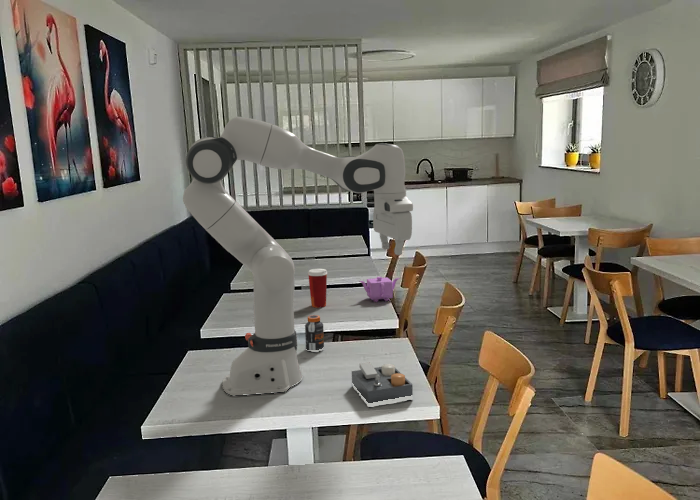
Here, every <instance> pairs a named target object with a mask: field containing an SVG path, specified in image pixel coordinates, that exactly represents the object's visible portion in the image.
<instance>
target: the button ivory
mask: <svg viewBox="0 0 700 500" xmlns="http://www.w3.org/2000/svg"><path fill="white" fill-rule="evenodd" d="M381 367H382V375H383V376H390V375H392V374H395V368H396V366H395V365H394V364H392V363H385V364H382V365H381Z"/></svg>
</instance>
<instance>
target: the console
mask: <svg viewBox="0 0 700 500" xmlns="http://www.w3.org/2000/svg"><path fill="white" fill-rule="evenodd" d="M374 369H375V370H376V372H377V375H376V378H370V379H366V377H365V375H364V374H363V372H362V371H361V369H358V370H351V384H352V383H353V384H354V386H355V387H356V388H357V390H358V391H359V392H360V393H361V395H362V396H363V397H364V398H365V399H366V401H367V402H368V403H373V402H378V401H383V400H388V399H395V398H399V397H405V396H411V395H413V383H412V382H411V381H409V379H407V377H405V385H400V386H393V385H392V384H391V375H390V376H383V375H382V366H379V367H378V366H377V367H374ZM396 373H400V374H402V373H401V371H399V370H398V369H397V368H396V367H395V374H396Z"/></svg>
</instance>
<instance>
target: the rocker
mask: <svg viewBox="0 0 700 500" xmlns="http://www.w3.org/2000/svg"><path fill="white" fill-rule="evenodd" d="M374 368H375V367H374V366H373V365H372V363H371V361H368V362H367V361H366V362H360V363H359V370H361V371H362V372H363V374H364V375H365V377H366V379H370V378H376V375H377V372H376V370H375V369H374Z"/></svg>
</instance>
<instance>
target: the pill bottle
mask: <svg viewBox="0 0 700 500" xmlns="http://www.w3.org/2000/svg"><path fill="white" fill-rule="evenodd" d="M304 329H305V330H304V334H305V350H306V349H307V350H319V349H322V348H323V347H324V348H325V335H324V324H323V322H321V316H320V315H315V314H312V315H309V316H307V322H306V323H305V324H304ZM307 350H306V351H307Z"/></svg>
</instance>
